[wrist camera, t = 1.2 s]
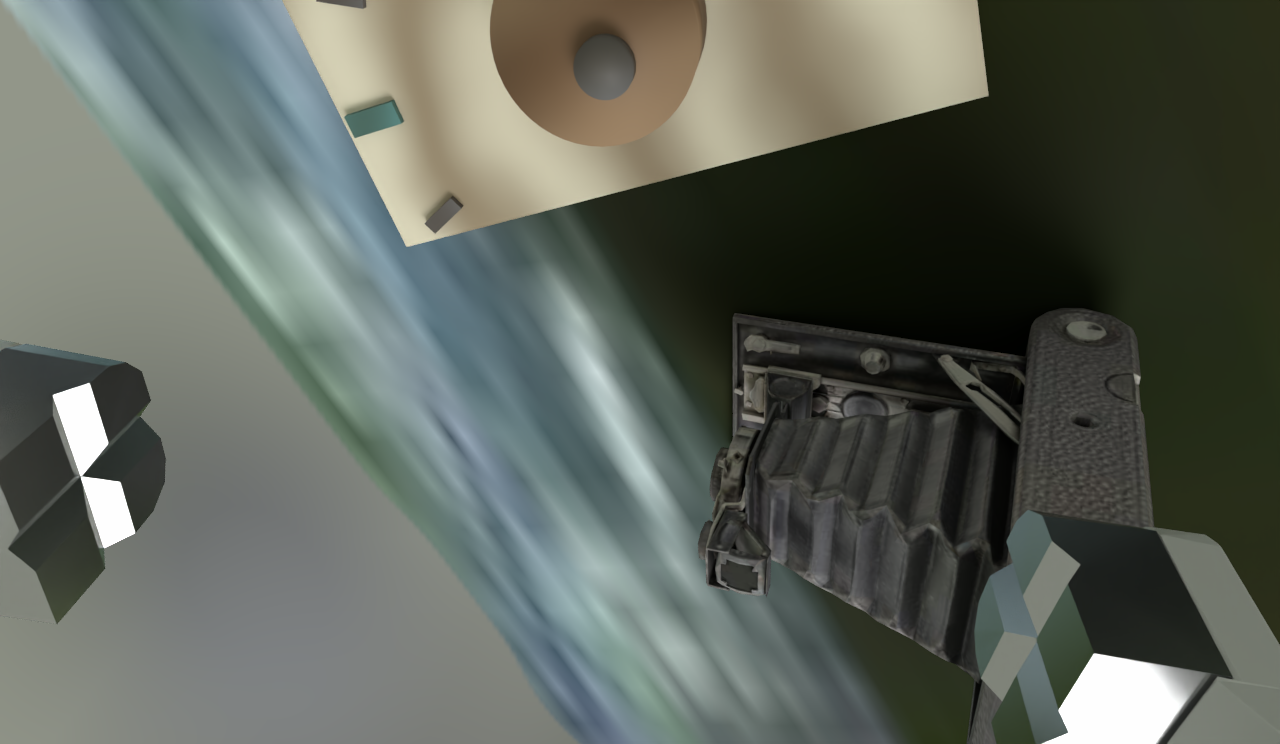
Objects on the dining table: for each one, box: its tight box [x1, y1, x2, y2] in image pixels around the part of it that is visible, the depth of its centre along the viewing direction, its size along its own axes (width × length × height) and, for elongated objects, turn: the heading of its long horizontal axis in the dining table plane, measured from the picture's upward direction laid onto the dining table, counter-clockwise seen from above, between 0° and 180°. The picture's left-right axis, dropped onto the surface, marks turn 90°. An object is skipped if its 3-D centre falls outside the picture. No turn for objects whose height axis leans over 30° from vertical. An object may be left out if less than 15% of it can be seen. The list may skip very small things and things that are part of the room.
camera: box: [698, 308, 1154, 744], centre depth 34 cm, size 11×17×20 cm, turn 92°
